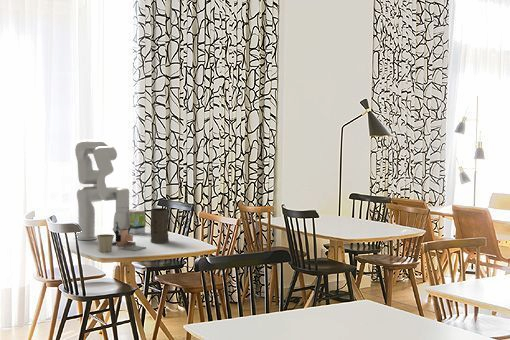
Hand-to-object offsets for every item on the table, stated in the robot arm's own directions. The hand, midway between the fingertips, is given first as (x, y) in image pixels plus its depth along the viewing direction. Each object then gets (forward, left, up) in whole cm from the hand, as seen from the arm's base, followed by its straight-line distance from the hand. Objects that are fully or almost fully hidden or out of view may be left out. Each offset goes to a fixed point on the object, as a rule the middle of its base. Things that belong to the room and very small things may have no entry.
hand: (122, 240), depth 366 cm
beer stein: (+12, +22, -3) cm, 25 cm away
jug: (+2, 0, -3) cm, 3 cm away
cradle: (0, 0, -3) cm, 3 cm away
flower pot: (+3, -20, -3) cm, 20 cm away
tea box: (-23, +42, -3) cm, 48 cm away
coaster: (+12, -6, -3) cm, 14 cm away
